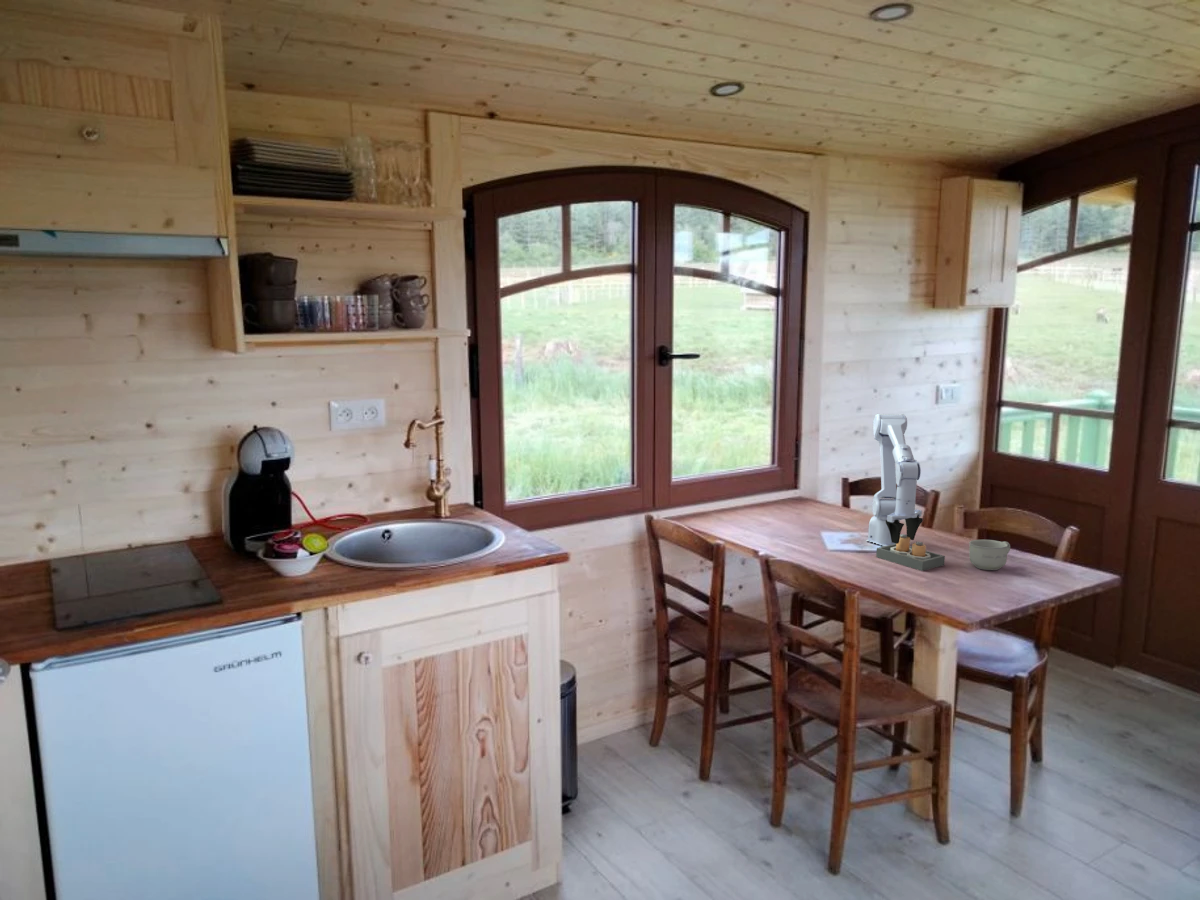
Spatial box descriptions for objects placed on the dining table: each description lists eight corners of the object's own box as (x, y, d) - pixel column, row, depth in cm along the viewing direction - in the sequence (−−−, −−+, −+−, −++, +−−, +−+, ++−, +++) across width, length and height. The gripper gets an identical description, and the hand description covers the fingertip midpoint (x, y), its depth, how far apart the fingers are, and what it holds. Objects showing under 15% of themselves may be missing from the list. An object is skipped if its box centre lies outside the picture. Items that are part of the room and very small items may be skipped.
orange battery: (892, 555, 264) (894, 534, 263) (900, 553, 266) (902, 532, 265) (903, 558, 261) (904, 537, 260) (911, 556, 263) (913, 535, 262)
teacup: (982, 574, 249) (984, 548, 248) (959, 563, 260) (961, 538, 258) (1022, 571, 252) (1025, 546, 251) (999, 561, 262) (1001, 536, 261)
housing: (876, 557, 266) (877, 536, 264) (898, 551, 272) (899, 531, 270) (922, 571, 252) (923, 549, 250) (944, 565, 258) (945, 544, 256)
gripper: (901, 504, 254) (898, 547, 256) (931, 499, 261) (927, 540, 264) (882, 500, 259) (879, 542, 262) (912, 494, 267) (909, 535, 270)
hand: (902, 541), depth 263 cm, fingers open, 7 cm apart
